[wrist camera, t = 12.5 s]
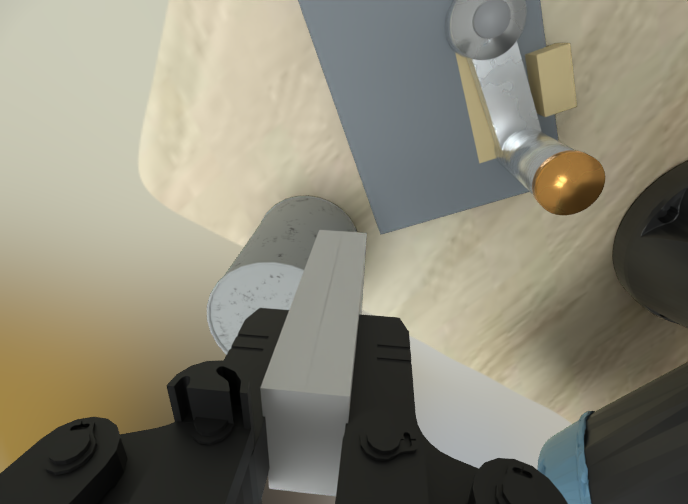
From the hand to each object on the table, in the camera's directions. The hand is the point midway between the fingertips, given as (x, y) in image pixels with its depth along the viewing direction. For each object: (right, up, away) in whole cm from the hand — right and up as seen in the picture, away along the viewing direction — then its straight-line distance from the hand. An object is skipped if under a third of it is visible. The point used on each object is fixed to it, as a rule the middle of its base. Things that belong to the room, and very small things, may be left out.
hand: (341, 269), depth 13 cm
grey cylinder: (-3, +1, +24) cm, 25 cm away
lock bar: (+11, +12, +15) cm, 23 cm away
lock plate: (+7, +15, +16) cm, 23 cm away
